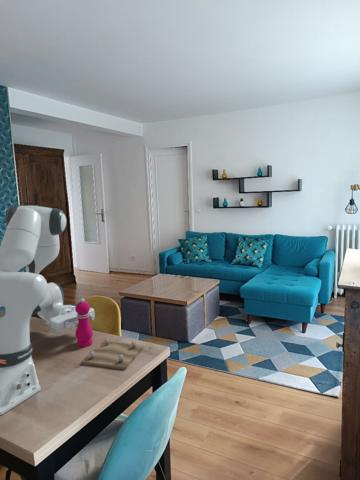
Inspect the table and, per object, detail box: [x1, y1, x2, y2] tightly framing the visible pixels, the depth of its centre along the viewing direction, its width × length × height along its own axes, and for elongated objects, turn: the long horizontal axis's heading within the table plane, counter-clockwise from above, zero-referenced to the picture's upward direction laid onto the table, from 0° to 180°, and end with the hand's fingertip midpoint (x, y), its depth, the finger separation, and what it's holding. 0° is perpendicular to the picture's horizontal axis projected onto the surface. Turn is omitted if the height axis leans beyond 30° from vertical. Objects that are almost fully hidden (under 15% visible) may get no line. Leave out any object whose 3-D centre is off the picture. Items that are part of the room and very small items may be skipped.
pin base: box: [80, 337, 144, 371], centre depth 135 cm, size 18×18×4 cm
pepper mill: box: [74, 298, 94, 348], centre depth 145 cm, size 7×7×20 cm
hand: (84, 321), depth 145 cm, fingers open, 8 cm apart
